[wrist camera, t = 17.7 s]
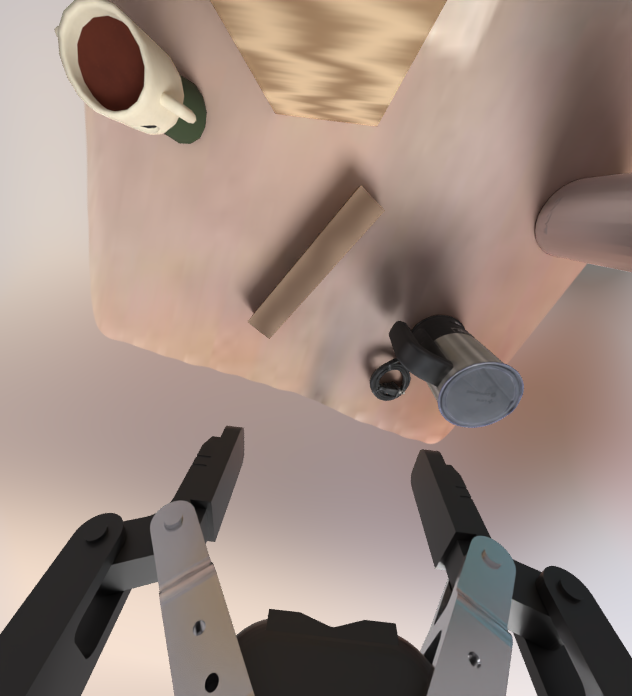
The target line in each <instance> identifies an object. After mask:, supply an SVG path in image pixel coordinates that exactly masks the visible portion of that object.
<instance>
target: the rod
mask: <svg viewBox="0 0 632 696" xmlns="http://www.w3.org/2000/svg"><path fill="white" fill-rule="evenodd" d="M384 211H385V210H384V209H383V208H382V207H381V206H380V205H379V204H378V203H377V202H376V200H375V199H374V198H373V197H372V196H371V195H370V194H369V193H368V192H367V191H366V190H365V189H364V187H363V186H362V185H361V186H360V187H358V189H357V190H356V191H355V192H354V193H353V195H352V196H351V197H350V198H349V199H348V201H347V202H346V203H345V204H344V205H343V207H342V208H341V209H340V210H339V211H338V213H337V214H336V215H335V216H334V217H333V219H332V220H331V221H330V222H329V223H328V225H327V226H326V227H325V228H324V230H323V231H322V232H321V233H320V234H319V236H318V237H317V238H316V239H315V240H314V242H313V243H312V244H311V245H310V246H309V248H308V249H307V250H306V251H305V252H304V254H303V255H302V256H301V257H300V258H299V260H298V261H297V262H296V263H295V264H294V266H293V267H292V268H291V269H290V270H289V272H288V273H287V274H286V275H285V276H284V278H283V279H282V280H281V281H280V283H279V284H278V285H277V286H276V287H275V289H274V290H273V291H272V292H271V293H270V295H269V296H268V297H267V298H266V299H265V301H264V302H263V303H262V304H261V305H260V307H259V308H258V309H257V310H256V311H255V313H254V314H253V315H252V317H251V318H250V319H249V321H248V323H249V324H251V325H252V326H253V327H255V328H256V329H257V330H258V331H260V332H261V333H262V334H264V335H265V336H266V337H267V338H269V339H270V338H271V337H272V335H273V334H274V333H275V332H276V331H277V330H278V329H279V328H280V327H281V325H282V324H283V323H284V322H285V321H286V320H287V319H288V318H289V317H290V315H291V314H292V313H293V312H294V311H295V310H296V309H297V308H298V307H299V305H300V304H301V303H302V302H303V301H304V300H305V299H306V298H307V297H308V295H309V294H310V293H311V292H312V291H313V290H314V289H315V288H316V287H317V285H318V284H319V283H320V282H321V281H322V280H323V279H324V278H325V277H326V275H327V274H328V273H329V272H330V271H331V270H332V269H333V268H334V267H335V265H336V264H337V263H338V262H339V261H340V260H341V259H342V258H343V257H344V255H345V254H346V253H347V252H348V251H349V250H350V249H351V248H352V247H353V246H354V244H355V243H356V242H357V241H358V240H359V239H360V238H361V237H362V236H363V234H364V233H365V232H366V231H367V230H368V229H369V228H370V227H371V226H372V224H373V223H374V222H375V221H376V220H377V219H378V218H379V217H380V216H381V214H382V213H383V212H384Z"/></svg>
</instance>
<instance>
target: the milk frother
mask: <svg viewBox="0 0 632 696" xmlns="http://www.w3.org/2000/svg"><path fill="white" fill-rule="evenodd" d="M389 337H390V340H391V343H392V346H393V349H394V352H395V355H396V357H397V358H395V359H393V360H391V361H389V362H387V363H385V364H383V365H382V366H380V367H379V368H378V369H377V370H376V371H375V372H374V373H373V375H372V377H371V380H370V388H371V390H372V393H373V394H374V395H375V396H376V397H377V398H378V399H380V400H384V401H389V400H393V399H395V398H398V397H399V396H401V394H404V393H405V392H404V391H405V390H406V389H407V387H408V386H409V383H410V379H411V377H410V373H409V371H410V372H411V373H412V374H414V375H415V376H417V377H418V378H420V379H422V380H424V381H426V382H427V384H428V386H429V387H430V389H431V391H432V393H433V395H434V396H435V398H436V400H437V402H438V407H439V410H440V412H441V414H442V416H443V417H444V418H445V419H446V420H447V421H449V422H450V423H452V424H454V425H457V426H461V427H468V428H473V427H474V428H475V427H482V426H486V425H490V424H492V423H495V422H497V421H499V420H501V419H502V418H504V417H506V416H507V415H508V414H510V413H511V412H512V411H513V410H514V409H515V408H516V407H517V405H518V404H519V401H520V399H521V397H522V395H523V389H524V384H523V380H522V378H521V376H520V374H519V373H518V372H517V371H516V370H515V369H513V368H512V367H510V366H509V365H507V364H504V363H503V362H502V361H501V360H499V359H498V358H497V357H496V356H495V355H494V354H493V353H491V352H490V351H489V350H488V349H487V348H486V347H485V346H483V345H482V344H481V343H480V342H479V341H477V340H476V339H475V338H474V337H473V336H472V335H471V334H469V333H468V332H467V331H466V330H465V328H464V326H463V325H462V323H460V322H459V321H458V320H457V319H455V318H453V317H450V316H445V315H436V316H432V317H429V318H426V319H424V320H423V321H421V322H420V323H418V324H417V325H416V326H415V327H414V328H413V329H412V331H411V330H410V328H409V327H408V326H407V324H406V323H405V322H402V321H397V322H396V323H395V324H394V325H393V327H392V328H391V330H390V332H389ZM397 362H400V363H397ZM390 370H399V371H400V372H401V373H402V376H403V382H402V385H401V387H400V388H399V387H398V386H397V385H396V384H395V383H394V382H391V383H383V384H380V383H379V380H380V378H381V377H382V376H383V375H384V374H385V373H386V372H388V371H390ZM386 393H387V394H386Z"/></svg>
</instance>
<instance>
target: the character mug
mask: <svg viewBox="0 0 632 696" xmlns="http://www.w3.org/2000/svg"><path fill="white" fill-rule="evenodd" d="M55 33H56V35H57V37H58V43H59V55H60V58H61V61H62V64H63V67H64V69H65V72H66V75H67V78H68V79H69V81H70V83H71V84H72V86H73V87H74V89H75V91H76V92H77V94H78V96H79V97H80V98H81V99H82V100H83V101H84V102H85V103H86V104H87V105H88V106H89V107H90V108H92V109H93V110H94V111H96V112H97V113H99V114H102V115H104V116H106V117H108V118H110V119H113V120H115V121H117V122H120V123H122V124H125V125H127V126H129V127H131V128H134V129H136V130H139V131H141V132H144V133H147V134H151V135H156V134H165V135H167V136H169V137H170V138H172V139H173V140H175V141H177V142H178V143H185V144H191V143H192V142H194V141H196V140H198V139H199V138H200V137H201V135H202V133H203V131H204V128H205V124H206V114H207V112H206V108H205V103H204V99H203V96H202V95H201V93H200V92H199V90H198V89H197V87H196V86H195V84H193V83H192V82H190V81H189V80H187V79H186V78H184V77H183V76H181V75H180V74H179V73H178V71H177V69H176V67H175V65H174V63H173V61H172V59H171V58H170V56H169V55H167V54H166V53H165V52H164V51H163V50H162V49H161V48H160V47H159V46H158V45H157V44H156V43H155V42H154V41H153V40H152V39H151V38H150V37H149V36H148V35H147V34H146V33H145V32H144V31H143V30H142V29H140V28H139V27H138V26H137V25H136V24H135V23H134V22H133V21H132V20H131V19H130V18H129V17H128V16H127V15H126V14H125V13H124V12H123V11H122V10H120V9H119V8H118V7H117V6H116V5H115V4H114V3H111V2H109V1H106V0H74V1H73V2H72V3H71V4H70V5H69V6H68V7H67V8H66V9H65V10H64V11H63V14H62V18H61V21H60V24H59V26H57V27H56V28H55Z"/></svg>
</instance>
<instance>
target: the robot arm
mask: <svg viewBox="0 0 632 696" xmlns="http://www.w3.org/2000/svg"><path fill="white" fill-rule="evenodd" d="M535 234H536V240H537V243H538V245H539V246H540V248H541V249H542V250H543V251H544V252H546V253H547V254H549V255H552V256H556V257H561V258H566V259H570V260H575V261H579V262H584V263H589V264H594V265H599V266H604V267H608V268H613V269H618V270H623V271H627V272H632V173H624V174H615V175H607V176H599V177H591V178H584V179H579V180H576V181H573V182H571V183H569V184H567V185H565V186H563V187H562V188H561V189H559V190H558V191H557V192H555V193H554V194H553V195H552V196H551V197H550V198H549V200H548V201H547V202H546V204H545V205H544V206H543V208H542V210H541V212H540V214H539V216H538V219H537V222H536V229H535ZM243 458H244V428H242V427H232V426H226V427H225V429H224V431H223V433H222V435H221V437H214V436H213V437H211V438H210V439H209V440H208V441H207V442H205V443H204V444H203V445H202V447H201V449H200V451H199V453H198V454H197V457H196V458H195V460H194V462H193V464H192V466H191V467H190V469H189V471H188V473H187V474H186V476H185V478H184V480H183V482H182V484H181V485H180V487H179V489H178V491H177V493H176V495H175V497H174V498H173V500H172V501H171V502H170V503H169V504H167V505H165V506H163V507H162V508H161V509H160V510H159V511H158V512H157V513H156V514H154V515H151V516H148V517H143V518H138V519H133V520H128V521H123V520H122V518H121V517H120V516H119V515H117V514H114V513H105V514H101V515H98V516H95V517H93V518H91V519H90V520H88V521H87V522H85V523H84V524H83V525H81V526H80V527H79V528H78V529H77V530H76V532H75V533H74V534H73V536H72V537H71V538H70V540H69V541H68V542H67V544H66V545H65V547H64V548H63V549H62V551H61V552H60V554H59V555H58V556H57V557H56V559H55V560H54V562H53V563H52V564H51V566H50V567H49V569H48V570H47V571H46V572H45V574H44V575H43V577H42V578H41V579H40V581H39V582H38V584H37V585H36V586H35V587H34V589H33V590H32V592H31V593H30V594H29V596H28V597H27V598H26V600H25V601H24V603H23V604H22V605H21V607H20V608H19V609H18V611H17V612H16V613H15V615H14V616H13V618H12V619H11V620H10V622H9V623H8V624H7V626H6V627H5V629H4V630H3V631H2V633H1V634H0V696H81V694H82V692H83V690H84V688H85V686H86V684H87V681H88V680H89V678H90V675H91V673H92V671H93V669H94V667H95V665H96V663H97V661H98V658H99V656H100V654H101V652H102V650H103V648H104V646H105V644H106V642H107V640H108V637H109V635H110V633H111V631H112V629H113V627H114V625H115V623H116V621H117V619H118V616H119V614H120V612H121V610H122V608H123V606H124V604H125V602H126V600H127V597H128V595H129V593H130V591H131V589H132V588H136V587H140V586H143V585H147V584H151V583H155V582H158V583H159V590H160V593H159V597H160V605H161V611H162V618H163V623H164V630H165V637H166V643H167V650H168V656H169V662H170V669H171V676H172V682H173V689H174V695H175V696H506V690H507V683H508V675H509V668H510V661H511V653H512V645H513V640H512V635H511V634H510V633H509V632H508V630H510V631H512V632H513V633H514V636H515V638H516V641H517V643H518V646H519V649H520V651H521V654H522V657H523V659H524V662H525V664H526V667H527V669H528V672H529V675H530V677H531V680H532V682H533V685H534V688H535V690H536V693H537V695H538V696H632V658H631V656H630V655H629V653H628V651H627V650H626V648H625V647H624V645H623V643H622V642H621V640H620V639H619V637H618V635H617V634H616V632H615V631H614V629H613V628H612V626H611V624H610V623H609V621H608V619H607V618H606V616H605V615H604V613H603V612H602V610H601V608H600V607H599V605H598V604H597V602H596V600H595V599H594V597H593V596H592V594H591V593H590V592H589V590H588V589H587V588H586V586H584V584H583V583H582V582H581V581H580V580H579V579H577V578H576V577H575V576H574V575H572V574H571V573H569V572H568V571H566V570H564V569H562V568H559V567H556V566H549V567H547V568H545V569H544V571H543V572H540V571H538V570H535V569H533V568H531V567H528V566H526V565H524V564H522V563H519V562H517V561H515V560H513V559H512V557H511V556H510V554H509V553H508V552H507V550H506V549H505V548H504V547H503V546H502V545H500V544H499V543H497V542H496V541H495V540H493V539H491V537H490V535H489V533H488V531H487V529H486V527H485V525H484V523H483V521H482V519H481V516H480V514H479V512H478V510H477V508H476V506H475V504H474V502H473V500H472V499H471V496H470V494H469V492H468V490H467V489H466V485H465V483H464V481H463V480H462V478H461V476H460V475H459V473H458V472H457V471H456V470H455V469H454V468H453V467H452V466H451V465H446V464H445V462H444V459H443V457H442V455H441V453H440V452H438V451H431V450H420V452H419V454H418V457H417V460H416V462H415V465H414V468H413V471H412V474H411V485H412V490H413V493H414V496H415V500H416V504H417V507H418V510H419V514H420V517H421V521H422V524H423V528H424V531H425V535H426V538H427V542H428V545H429V549H430V552H431V555H432V559H433V563H434V566H435V568H436V569H442V570H446V571H447V575H448V578H449V579H448V580H447V582H446V585H445V588H444V591H443V594H442V596H441V599H440V602H439V605H438V608H437V611H436V614H435V616H434V619H433V622H432V625H431V628H430V630H429V633H428V635H427V637H426V639H425V641H424V643H423V646H422V649H421V650H420V651H419V650H418V649H417V648H415V647H414V646H413V645H412V644H411V643H409V642H408V641H406V640H405V639H403V638H402V637H400V636H398V635H397V629H396V624H394V623H386V622H378V621H368V620H363V621H359V622H355V623H350V624H346V625H343V626H338V627H330V626H328V625H325V624H323V623H321V622H319V621H317V620H315V619H313V618H311V617H309V616H307V615H304V614H302V613H300V612H292V611H283V610H275V609H269V614H268V619H266V620H262V621H259V622H256V623H254V624H252V625H250V626H248V627H247V628H245V629H244V630H242V631H241V632H240V633H239V634H237V635H236V634H235V631H234V628H233V624H232V621H231V618H230V615H229V612H228V608H227V605H226V602H225V599H224V595H223V592H222V589H221V586H220V583H219V579H218V576H217V573H216V570H215V567H214V564H213V563H212V562H211V560H210V557H209V554H208V551H207V548H206V542H207V541H213V542H215V540H216V538H217V535H218V532H219V529H220V526H221V523H222V520H223V517H224V515H225V512H226V509H227V506H228V503H229V501H230V498H231V495H232V492H233V489H234V486H235V483H236V481H237V478H238V475H239V472H240V469H241V466H242V463H243Z"/></svg>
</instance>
